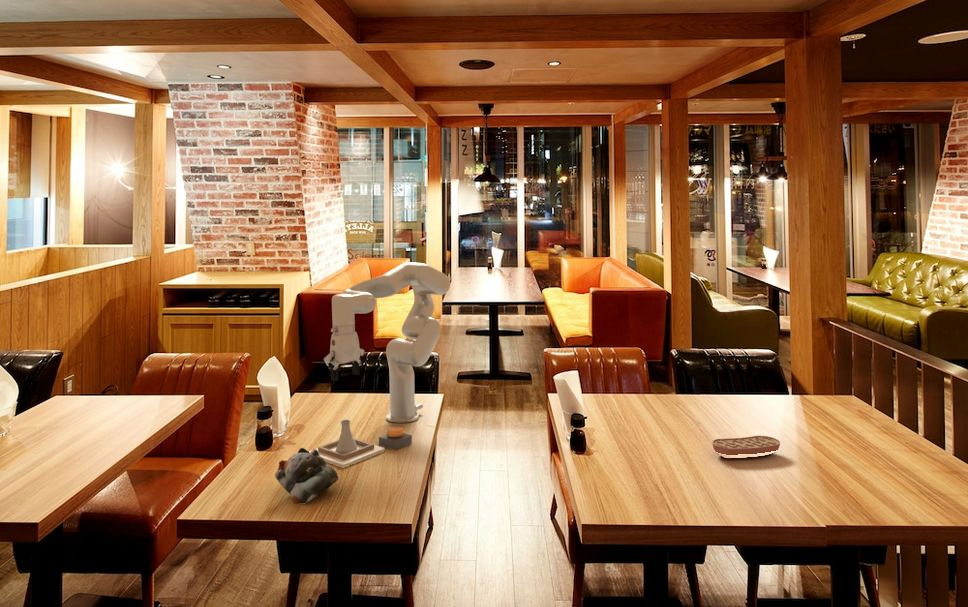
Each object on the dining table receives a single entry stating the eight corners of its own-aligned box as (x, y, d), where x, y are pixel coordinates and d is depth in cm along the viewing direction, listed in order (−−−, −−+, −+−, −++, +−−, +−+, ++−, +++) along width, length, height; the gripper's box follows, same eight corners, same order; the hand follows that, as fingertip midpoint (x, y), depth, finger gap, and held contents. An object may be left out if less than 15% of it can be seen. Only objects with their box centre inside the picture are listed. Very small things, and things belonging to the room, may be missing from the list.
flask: (352, 454, 209) (351, 425, 208) (331, 452, 211) (330, 423, 209) (360, 446, 216) (360, 418, 215) (341, 445, 218) (340, 416, 216)
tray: (349, 440, 226) (348, 432, 226) (384, 451, 215) (384, 443, 215) (307, 455, 212) (306, 447, 211) (343, 468, 201) (343, 460, 201)
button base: (395, 438, 227) (395, 430, 227) (411, 443, 223) (411, 435, 222) (378, 445, 221) (378, 436, 221) (395, 450, 216) (395, 441, 216)
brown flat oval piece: (767, 448, 218) (768, 434, 217) (786, 459, 208) (787, 444, 207) (706, 454, 213) (707, 439, 212) (723, 465, 203) (724, 450, 203)
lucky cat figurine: (297, 509, 173) (274, 463, 173) (287, 510, 183) (266, 466, 184) (345, 480, 181) (323, 437, 182) (334, 482, 191) (313, 441, 192)
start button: (395, 437, 226) (395, 425, 225) (407, 441, 222) (407, 429, 222) (383, 442, 221) (382, 430, 221) (395, 446, 218) (395, 433, 217)
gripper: (331, 334, 213) (333, 384, 216) (369, 327, 227) (371, 374, 229) (316, 332, 218) (318, 380, 220) (355, 325, 231) (356, 371, 234)
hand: (345, 377), depth 225 cm, fingers open, 9 cm apart
